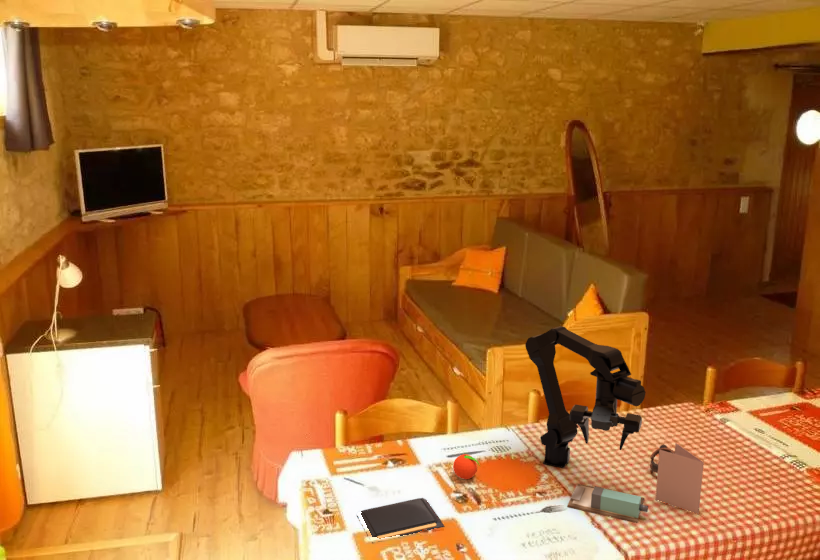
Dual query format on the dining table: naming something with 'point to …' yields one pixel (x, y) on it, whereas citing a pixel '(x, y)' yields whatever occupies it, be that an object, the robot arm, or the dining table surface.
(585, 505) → the clipboard
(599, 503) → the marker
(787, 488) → the dining table surface
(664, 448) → the pottery mug
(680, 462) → the greeting card
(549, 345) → the robot arm
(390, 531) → the black notebook
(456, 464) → the clementine
